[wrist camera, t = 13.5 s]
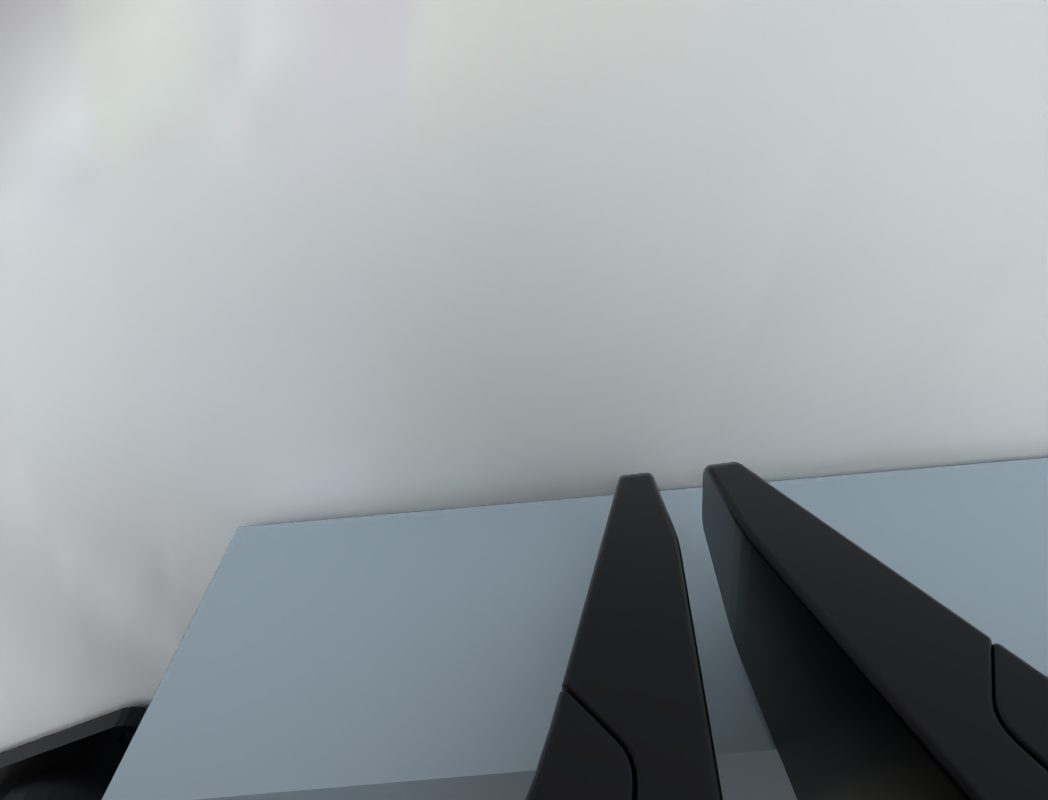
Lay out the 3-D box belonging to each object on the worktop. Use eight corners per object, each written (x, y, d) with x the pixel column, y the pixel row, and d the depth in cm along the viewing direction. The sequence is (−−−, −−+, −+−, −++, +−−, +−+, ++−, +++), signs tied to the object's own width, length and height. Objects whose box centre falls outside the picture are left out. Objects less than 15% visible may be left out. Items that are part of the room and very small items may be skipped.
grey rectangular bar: (263, 591, 12) (148, 878, 8) (237, 526, 11) (97, 808, 7) (1106, 519, 12) (1417, 769, 8) (1140, 450, 11) (1501, 687, 7)
